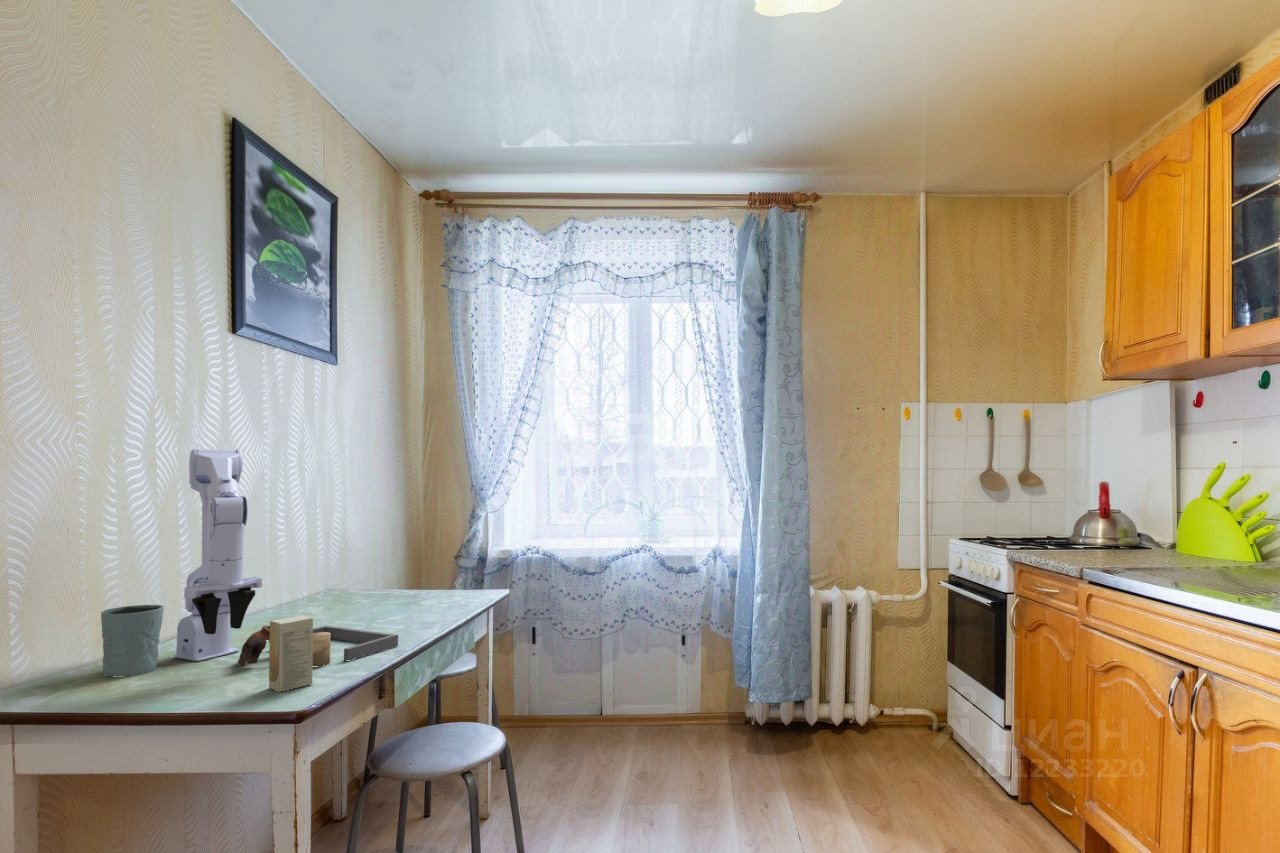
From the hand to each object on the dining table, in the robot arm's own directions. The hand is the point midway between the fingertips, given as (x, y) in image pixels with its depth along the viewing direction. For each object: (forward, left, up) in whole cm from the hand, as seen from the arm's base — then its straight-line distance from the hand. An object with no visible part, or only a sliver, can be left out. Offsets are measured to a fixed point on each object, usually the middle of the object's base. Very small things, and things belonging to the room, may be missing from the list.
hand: (223, 630), depth 137 cm
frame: (+25, -3, -8) cm, 26 cm away
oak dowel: (+14, -10, -8) cm, 19 cm away
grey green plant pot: (-5, +19, -9) cm, 22 cm away
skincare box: (+1, -18, -9) cm, 20 cm away
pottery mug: (+9, +1, -9) cm, 13 cm away
